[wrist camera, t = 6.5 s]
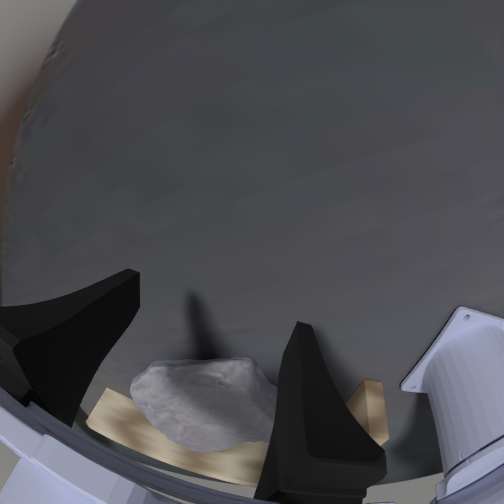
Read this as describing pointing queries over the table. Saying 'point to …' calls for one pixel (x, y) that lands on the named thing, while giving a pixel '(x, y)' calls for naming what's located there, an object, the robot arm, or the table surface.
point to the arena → (224, 461)
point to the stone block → (207, 402)
